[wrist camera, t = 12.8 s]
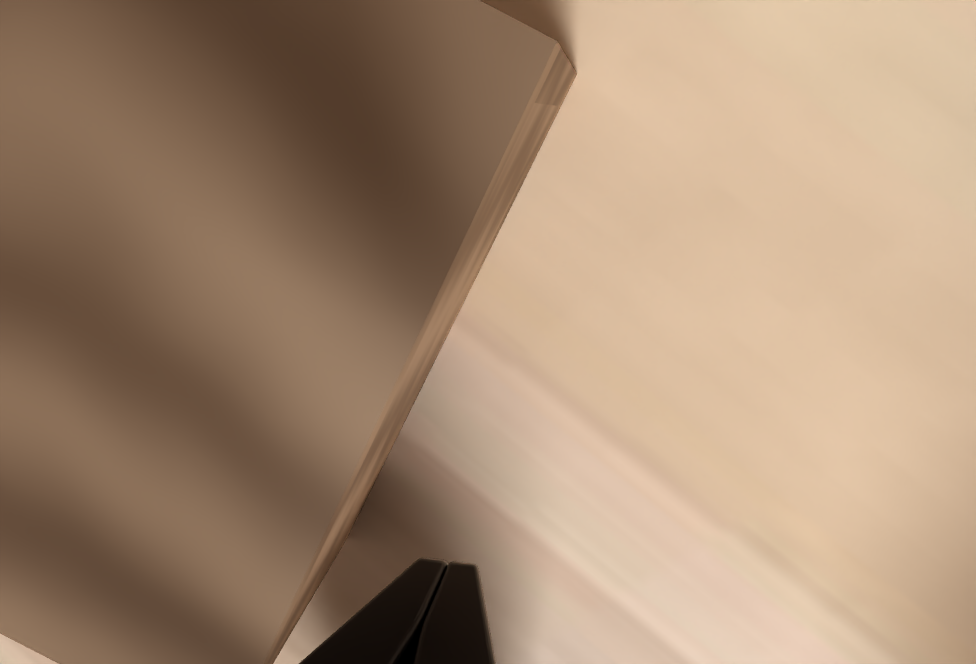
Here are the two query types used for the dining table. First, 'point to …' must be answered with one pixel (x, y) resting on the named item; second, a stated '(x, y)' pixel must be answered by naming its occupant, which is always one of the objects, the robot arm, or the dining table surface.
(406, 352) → the cabinet
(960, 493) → the dining table surface
